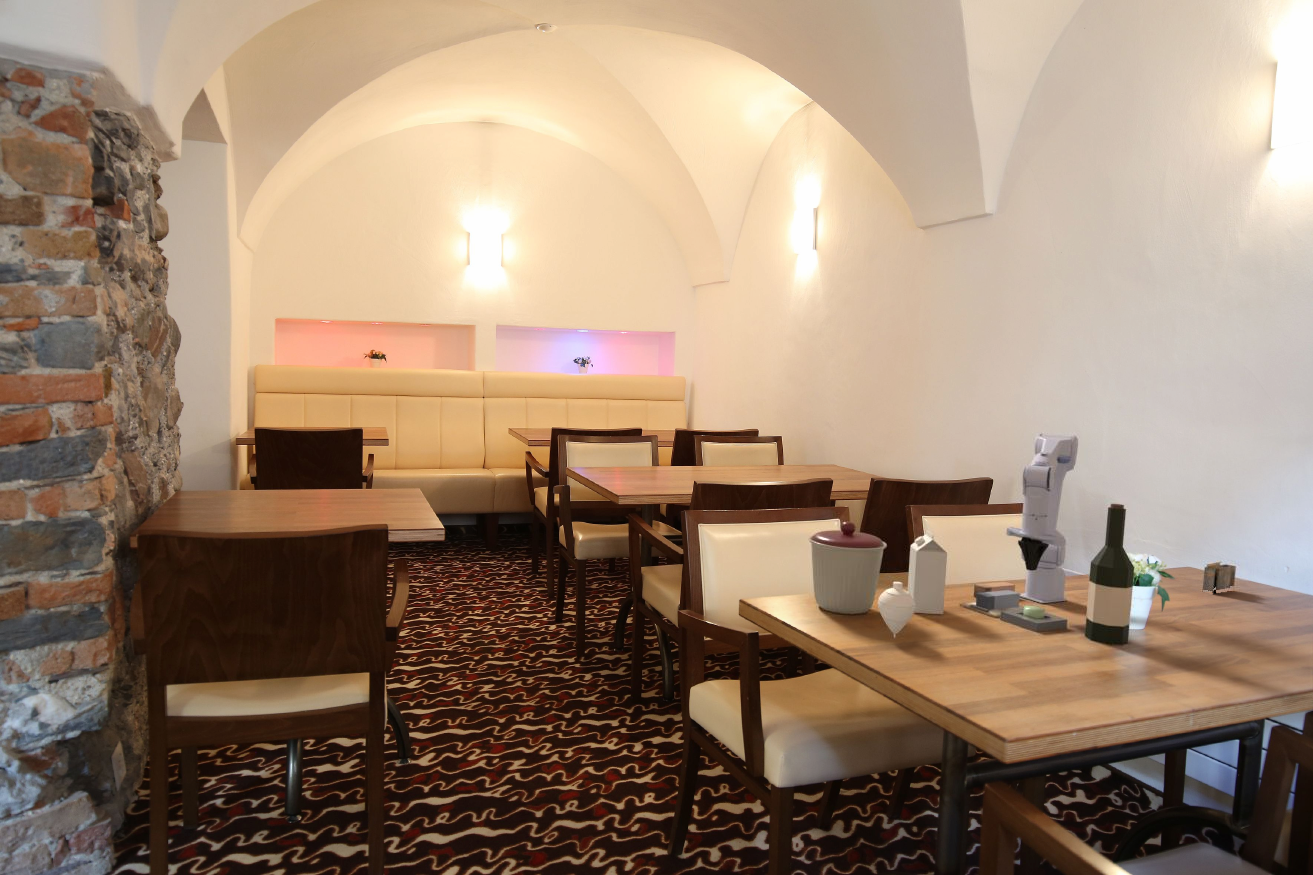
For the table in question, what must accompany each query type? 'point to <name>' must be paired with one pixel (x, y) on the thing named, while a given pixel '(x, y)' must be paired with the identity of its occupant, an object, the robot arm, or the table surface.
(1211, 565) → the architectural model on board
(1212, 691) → the table surface
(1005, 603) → the grey rectangular bar
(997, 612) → the tan flat tray
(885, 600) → the spinning top
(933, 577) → the milk carton
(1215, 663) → the table surface
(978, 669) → the table surface
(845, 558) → the canister
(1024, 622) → the button housing
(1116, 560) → the wine bottle
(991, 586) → the block
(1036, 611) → the button
